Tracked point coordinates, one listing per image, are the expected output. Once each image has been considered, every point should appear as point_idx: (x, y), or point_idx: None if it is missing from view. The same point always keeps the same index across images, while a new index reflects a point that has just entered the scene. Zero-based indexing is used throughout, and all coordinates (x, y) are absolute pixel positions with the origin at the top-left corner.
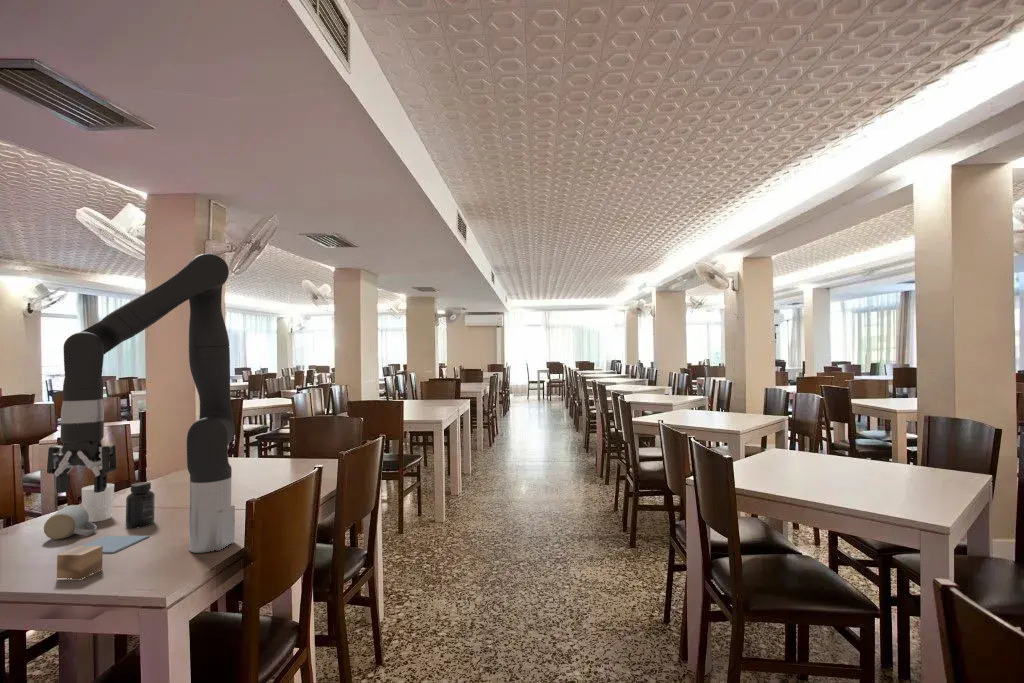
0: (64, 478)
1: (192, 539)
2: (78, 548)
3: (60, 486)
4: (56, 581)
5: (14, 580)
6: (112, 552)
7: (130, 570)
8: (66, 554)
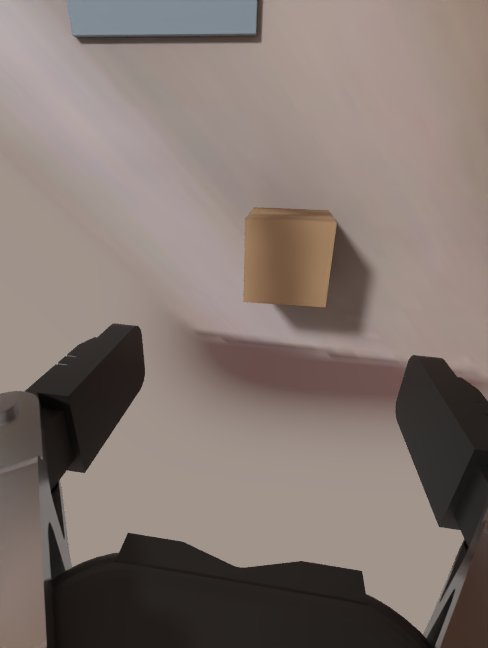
0: (93, 427)
1: None
2: (264, 245)
3: (123, 410)
4: None
5: (140, 268)
6: (250, 34)
7: (425, 220)
8: (269, 298)
